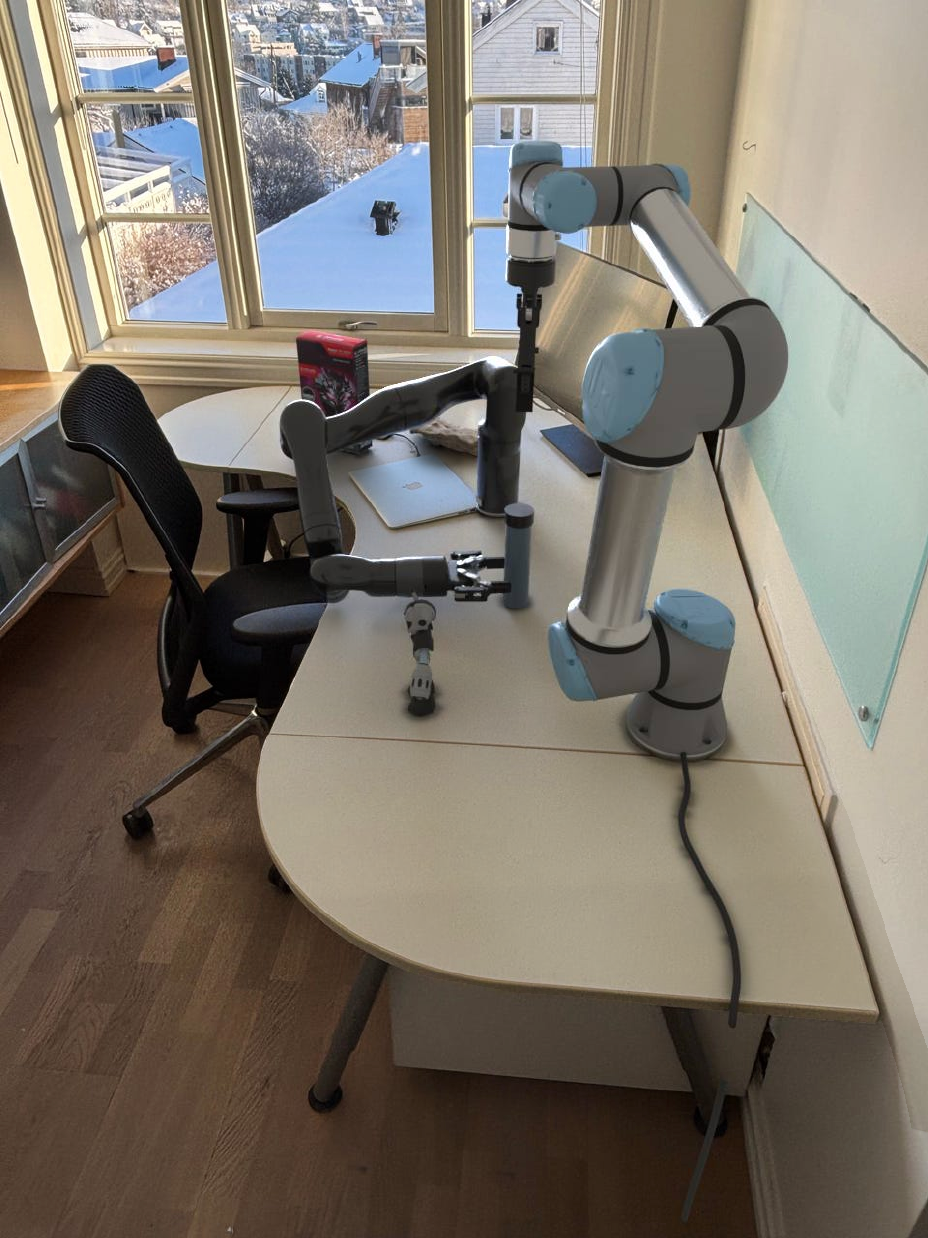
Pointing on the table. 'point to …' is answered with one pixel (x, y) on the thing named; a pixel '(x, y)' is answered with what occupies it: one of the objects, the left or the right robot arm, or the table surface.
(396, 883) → the table surface
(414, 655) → the robot
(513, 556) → the blue-grey bottle
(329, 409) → the graphics card box
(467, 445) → the stone
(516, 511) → the lid
